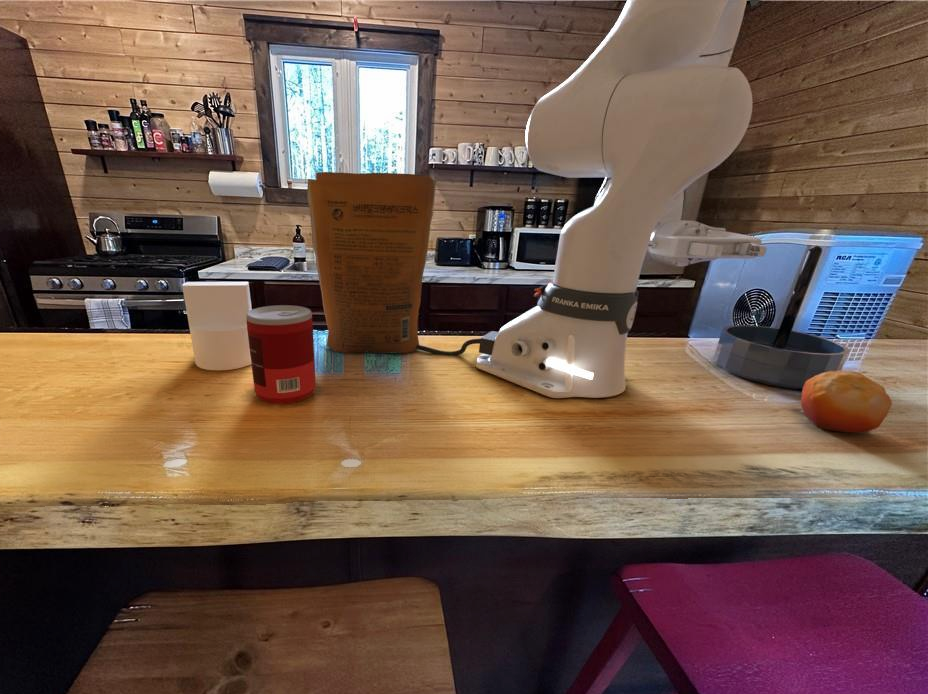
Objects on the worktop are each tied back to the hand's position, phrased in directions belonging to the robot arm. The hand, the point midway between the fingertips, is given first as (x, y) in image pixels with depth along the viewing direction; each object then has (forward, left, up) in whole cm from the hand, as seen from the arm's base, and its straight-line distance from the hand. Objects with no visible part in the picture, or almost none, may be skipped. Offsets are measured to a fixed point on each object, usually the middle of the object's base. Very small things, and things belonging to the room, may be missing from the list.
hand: (741, 251), depth 77 cm
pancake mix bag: (-45, -47, -18) cm, 67 cm away
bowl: (+9, -8, -18) cm, 22 cm away
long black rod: (+9, -8, -17) cm, 21 cm away
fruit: (+16, -27, -18) cm, 36 cm away
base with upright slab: (-58, -67, -18) cm, 90 cm away
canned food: (-41, -68, -18) cm, 81 cm away
